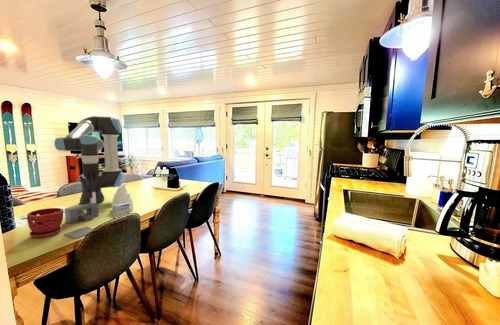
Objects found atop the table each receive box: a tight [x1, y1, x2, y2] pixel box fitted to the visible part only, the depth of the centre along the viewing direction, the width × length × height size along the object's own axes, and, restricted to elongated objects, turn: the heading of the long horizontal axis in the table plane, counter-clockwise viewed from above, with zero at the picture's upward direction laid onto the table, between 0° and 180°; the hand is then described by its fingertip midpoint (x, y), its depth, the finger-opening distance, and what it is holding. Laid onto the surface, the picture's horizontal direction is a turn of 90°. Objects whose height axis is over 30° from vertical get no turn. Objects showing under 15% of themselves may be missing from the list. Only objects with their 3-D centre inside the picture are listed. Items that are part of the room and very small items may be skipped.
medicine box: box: [112, 203, 131, 218], centre depth 130 cm, size 8×4×9 cm, turn 148°
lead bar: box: [78, 211, 94, 222], centre depth 127 cm, size 4×10×3 cm, turn 65°
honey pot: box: [111, 182, 134, 213], centre depth 144 cm, size 13×13×18 cm
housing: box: [64, 203, 99, 225], centre depth 127 cm, size 15×5×8 cm, turn 155°
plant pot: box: [26, 207, 64, 239], centre depth 107 cm, size 13×13×12 cm
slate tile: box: [63, 226, 94, 240], centre depth 109 cm, size 10×10×1 cm
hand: (93, 202), depth 122 cm, fingers closed
